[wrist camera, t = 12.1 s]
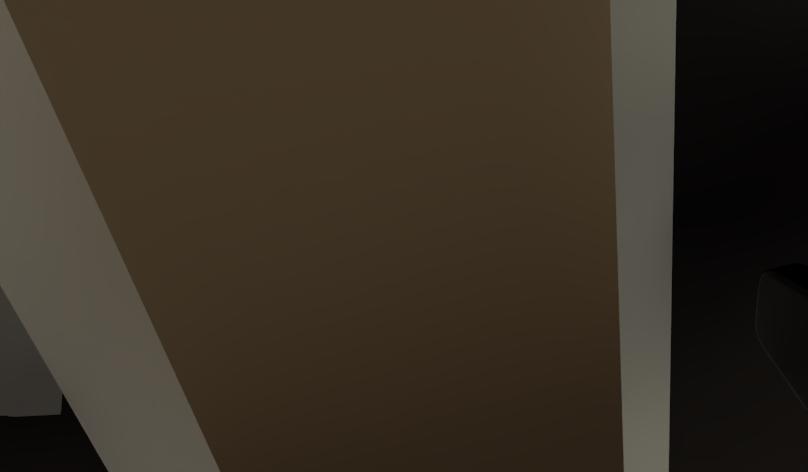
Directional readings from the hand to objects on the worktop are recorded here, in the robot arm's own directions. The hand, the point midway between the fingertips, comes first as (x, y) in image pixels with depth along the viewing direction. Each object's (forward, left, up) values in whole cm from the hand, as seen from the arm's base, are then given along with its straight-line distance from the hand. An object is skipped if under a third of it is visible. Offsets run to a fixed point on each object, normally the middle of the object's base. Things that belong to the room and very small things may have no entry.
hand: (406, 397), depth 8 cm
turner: (0, 0, -2) cm, 2 cm away
